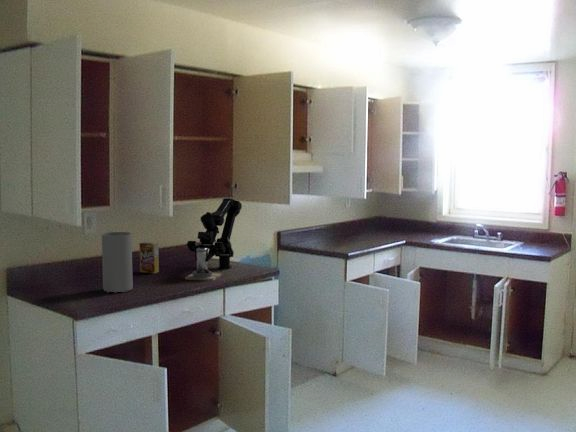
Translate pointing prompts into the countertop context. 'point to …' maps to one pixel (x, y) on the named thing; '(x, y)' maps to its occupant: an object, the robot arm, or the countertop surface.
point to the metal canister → (202, 260)
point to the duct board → (213, 277)
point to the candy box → (149, 257)
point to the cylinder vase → (117, 261)
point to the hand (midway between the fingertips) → (200, 260)
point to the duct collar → (204, 275)
